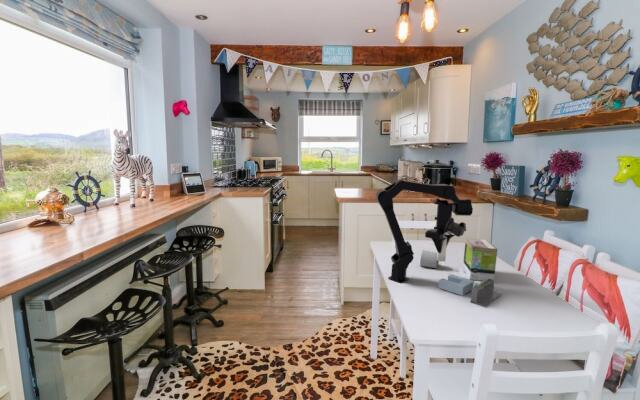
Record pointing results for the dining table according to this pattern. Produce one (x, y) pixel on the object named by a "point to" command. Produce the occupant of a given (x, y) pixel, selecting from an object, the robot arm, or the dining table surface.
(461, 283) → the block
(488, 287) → the stop wall
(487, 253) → the tea box
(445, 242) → the dowel
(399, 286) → the dining table surface
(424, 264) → the ceramic mug
